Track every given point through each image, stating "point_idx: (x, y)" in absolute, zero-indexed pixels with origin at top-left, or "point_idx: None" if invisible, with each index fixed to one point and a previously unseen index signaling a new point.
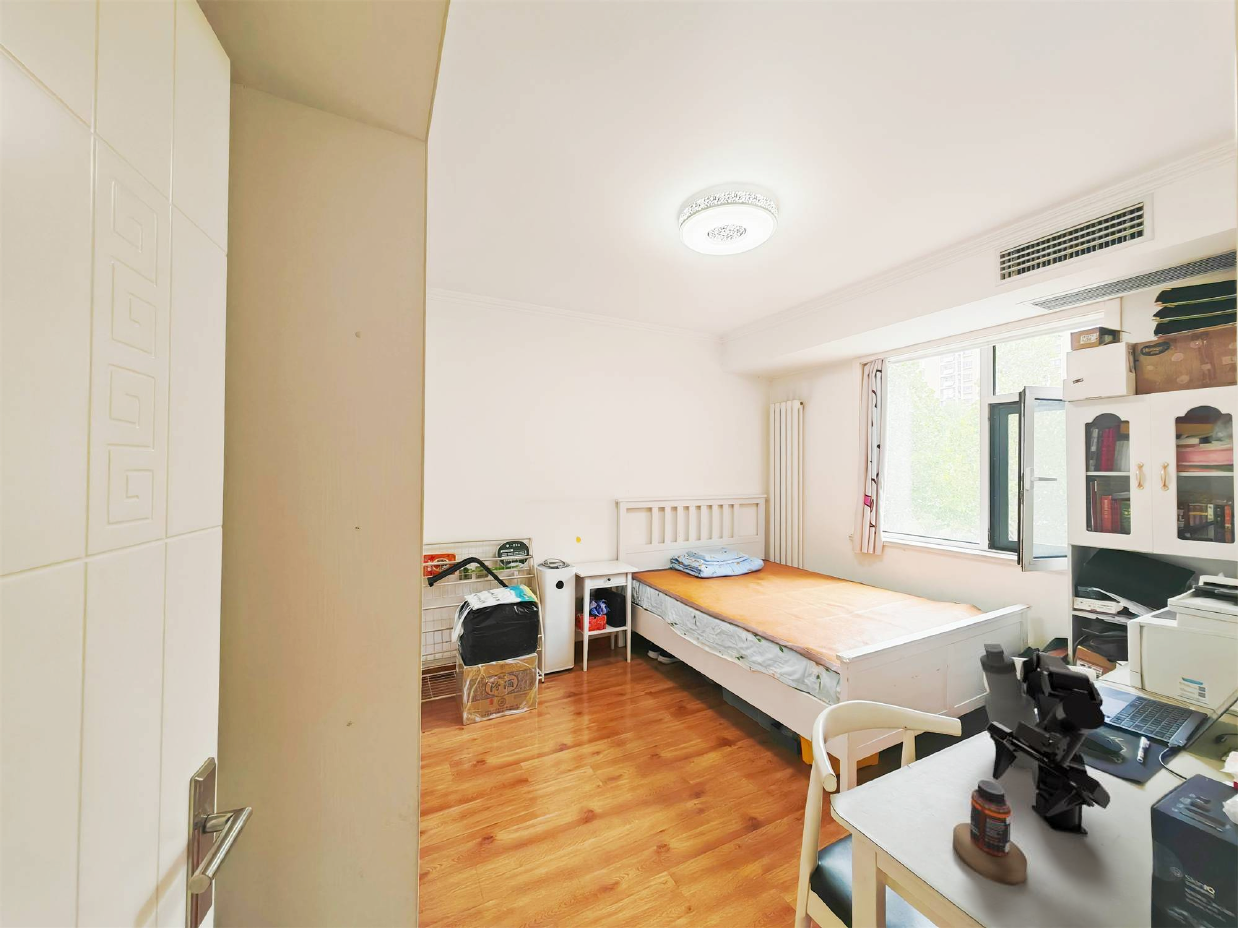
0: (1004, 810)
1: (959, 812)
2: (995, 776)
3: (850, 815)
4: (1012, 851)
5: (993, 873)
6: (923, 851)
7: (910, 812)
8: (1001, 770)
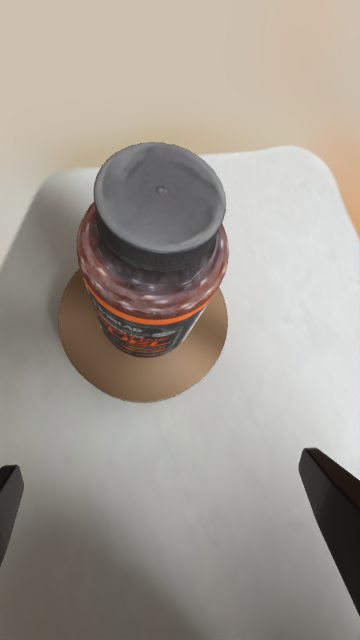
0: (80, 226)
1: (288, 402)
2: (309, 458)
3: (296, 154)
4: (113, 361)
5: None
6: None
7: (297, 273)
8: (342, 533)
